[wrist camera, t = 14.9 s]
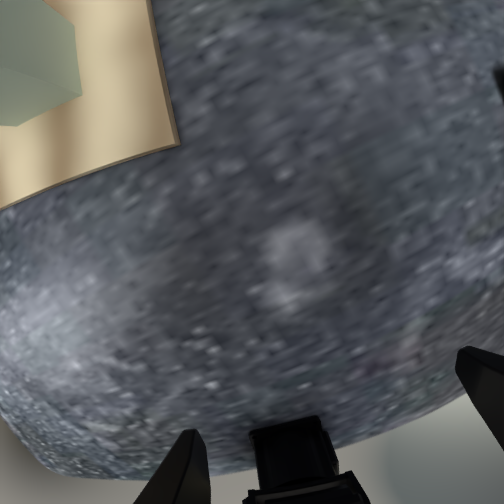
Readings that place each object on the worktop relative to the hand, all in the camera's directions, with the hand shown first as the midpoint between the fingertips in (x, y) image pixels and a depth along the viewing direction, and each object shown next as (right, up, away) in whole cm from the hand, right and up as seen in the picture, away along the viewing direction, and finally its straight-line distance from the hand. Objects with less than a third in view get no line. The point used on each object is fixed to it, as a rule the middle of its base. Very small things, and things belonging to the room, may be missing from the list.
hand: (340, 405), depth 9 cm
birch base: (-15, +16, +7) cm, 23 cm away
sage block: (-15, +15, +5) cm, 22 cm away
